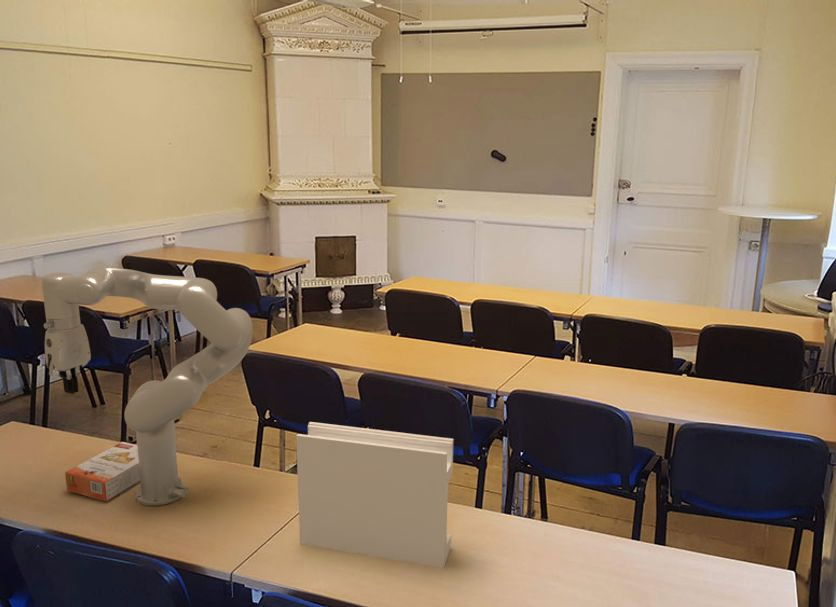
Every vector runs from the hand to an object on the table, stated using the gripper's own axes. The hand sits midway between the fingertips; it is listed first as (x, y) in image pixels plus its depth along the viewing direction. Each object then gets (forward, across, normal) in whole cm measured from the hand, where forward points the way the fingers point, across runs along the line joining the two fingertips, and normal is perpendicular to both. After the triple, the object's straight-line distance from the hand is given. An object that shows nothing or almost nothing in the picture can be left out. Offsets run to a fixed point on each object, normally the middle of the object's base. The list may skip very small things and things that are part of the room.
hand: (71, 391), depth 183 cm
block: (+30, +13, -80) cm, 87 cm away
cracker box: (+26, 0, -1) cm, 26 cm away
